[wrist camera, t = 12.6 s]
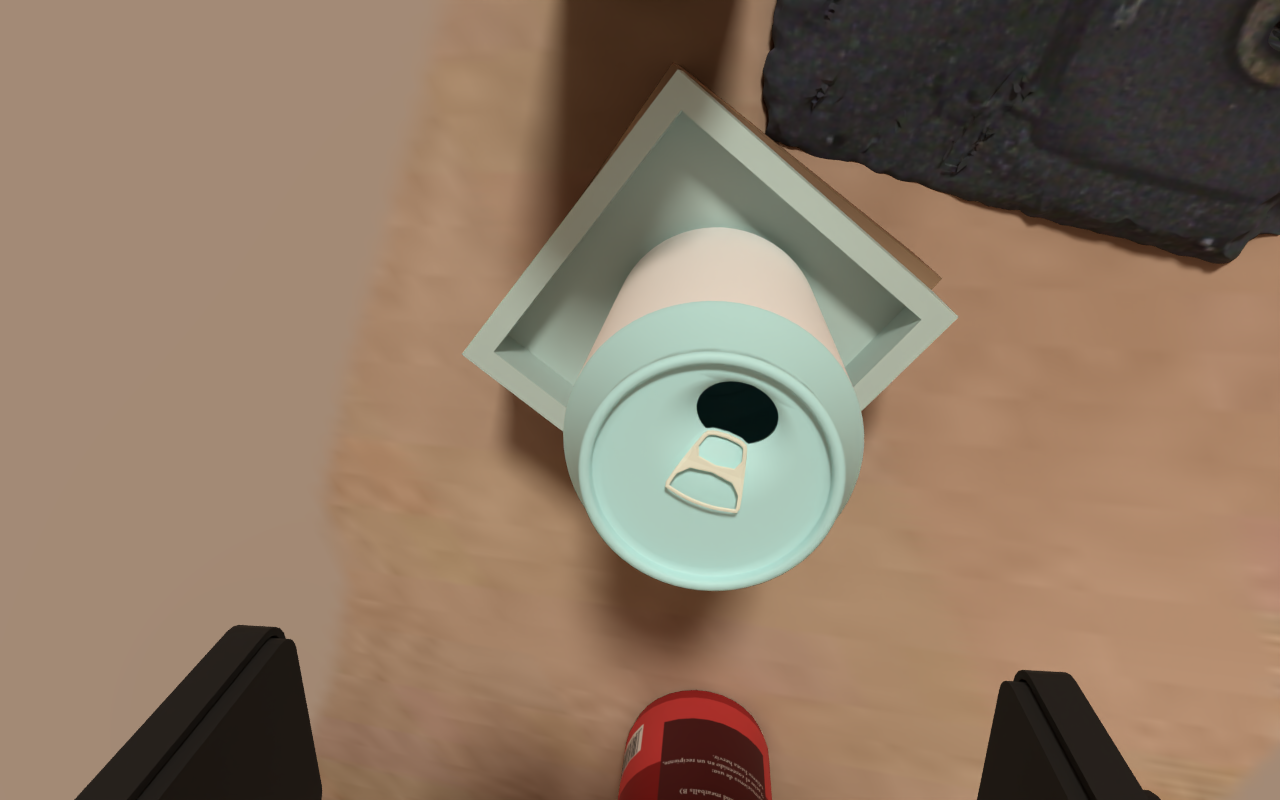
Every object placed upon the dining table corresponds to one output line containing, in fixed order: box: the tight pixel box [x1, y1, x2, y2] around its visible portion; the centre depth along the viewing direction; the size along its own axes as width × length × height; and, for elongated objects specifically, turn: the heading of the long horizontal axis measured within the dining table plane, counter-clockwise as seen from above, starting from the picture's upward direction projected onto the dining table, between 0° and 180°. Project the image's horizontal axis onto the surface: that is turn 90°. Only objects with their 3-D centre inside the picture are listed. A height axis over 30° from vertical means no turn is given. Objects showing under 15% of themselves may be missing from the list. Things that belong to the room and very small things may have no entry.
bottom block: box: [577, 63, 942, 290], centre depth 32 cm, size 12×12×5 cm
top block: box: [462, 70, 958, 431], centre depth 28 cm, size 12×12×4 cm
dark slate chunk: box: [763, 0, 1280, 263], centre depth 27 cm, size 15×22×5 cm
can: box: [563, 227, 864, 591], centre depth 23 cm, size 7×7×12 cm
